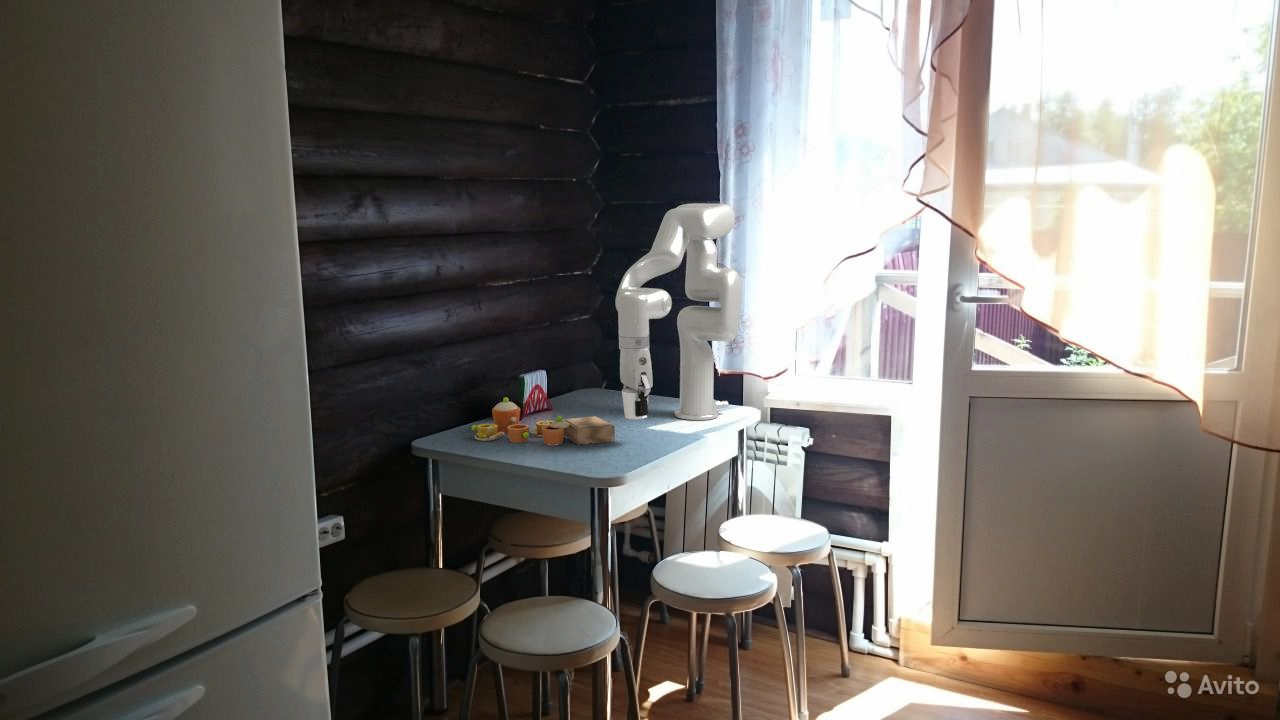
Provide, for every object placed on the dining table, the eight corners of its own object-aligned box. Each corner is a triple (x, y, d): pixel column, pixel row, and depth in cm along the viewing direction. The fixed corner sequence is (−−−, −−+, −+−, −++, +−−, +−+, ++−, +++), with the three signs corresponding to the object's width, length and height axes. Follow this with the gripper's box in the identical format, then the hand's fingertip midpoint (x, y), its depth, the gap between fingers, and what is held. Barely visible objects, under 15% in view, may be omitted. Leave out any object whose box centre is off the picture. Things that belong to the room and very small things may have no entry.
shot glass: (651, 413, 233) (650, 386, 232) (647, 420, 227) (646, 392, 225) (624, 412, 235) (624, 386, 233) (619, 419, 228) (619, 392, 227)
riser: (596, 431, 245) (596, 415, 244) (614, 440, 234) (614, 424, 233) (561, 434, 240) (561, 418, 240) (578, 445, 230) (577, 428, 229)
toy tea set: (466, 441, 234) (464, 404, 233) (492, 428, 249) (492, 393, 248) (561, 449, 227) (560, 411, 225) (583, 435, 242) (582, 399, 240)
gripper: (663, 346, 221) (664, 418, 224) (633, 335, 236) (634, 403, 240) (635, 349, 218) (636, 422, 221) (606, 338, 233) (608, 407, 237)
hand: (635, 412), depth 231 cm, fingers closed on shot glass, 6 cm apart
